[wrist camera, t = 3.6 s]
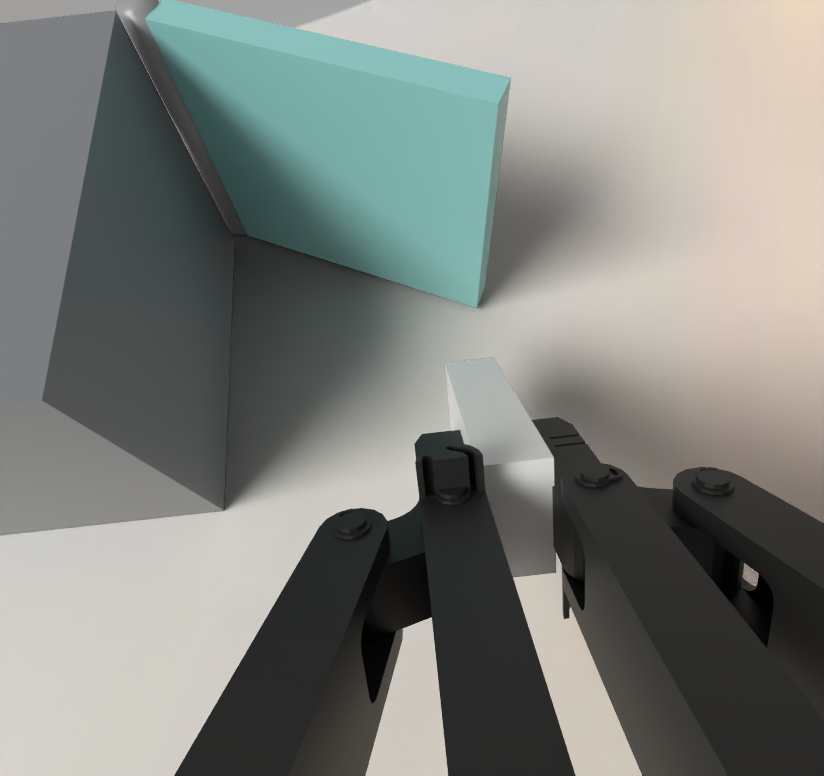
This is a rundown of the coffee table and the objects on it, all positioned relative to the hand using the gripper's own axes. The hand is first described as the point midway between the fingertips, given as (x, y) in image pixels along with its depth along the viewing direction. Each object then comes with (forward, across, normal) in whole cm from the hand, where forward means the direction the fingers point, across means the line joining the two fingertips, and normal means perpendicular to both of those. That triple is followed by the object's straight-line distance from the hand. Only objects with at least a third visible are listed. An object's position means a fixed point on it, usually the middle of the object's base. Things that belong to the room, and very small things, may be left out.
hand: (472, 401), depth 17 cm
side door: (+9, -4, +4) cm, 10 cm away
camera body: (+6, -13, +1) cm, 15 cm away
